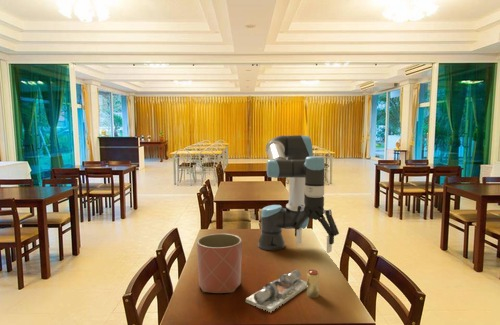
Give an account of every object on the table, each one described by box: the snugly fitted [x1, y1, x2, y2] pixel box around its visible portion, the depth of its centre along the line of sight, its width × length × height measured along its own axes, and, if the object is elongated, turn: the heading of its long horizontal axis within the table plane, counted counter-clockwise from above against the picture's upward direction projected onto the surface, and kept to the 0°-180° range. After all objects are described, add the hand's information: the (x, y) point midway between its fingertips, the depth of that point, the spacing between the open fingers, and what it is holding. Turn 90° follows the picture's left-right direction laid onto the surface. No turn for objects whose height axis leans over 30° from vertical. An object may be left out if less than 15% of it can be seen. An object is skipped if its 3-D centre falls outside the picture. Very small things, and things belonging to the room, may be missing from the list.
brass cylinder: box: [306, 269, 320, 299], centre depth 136 cm, size 5×5×10 cm
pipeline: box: [245, 269, 307, 314], centre depth 137 cm, size 28×12×6 cm, turn 140°
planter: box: [196, 233, 243, 294], centre depth 144 cm, size 19×19×20 cm
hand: (313, 248), depth 135 cm, fingers open, 13 cm apart
